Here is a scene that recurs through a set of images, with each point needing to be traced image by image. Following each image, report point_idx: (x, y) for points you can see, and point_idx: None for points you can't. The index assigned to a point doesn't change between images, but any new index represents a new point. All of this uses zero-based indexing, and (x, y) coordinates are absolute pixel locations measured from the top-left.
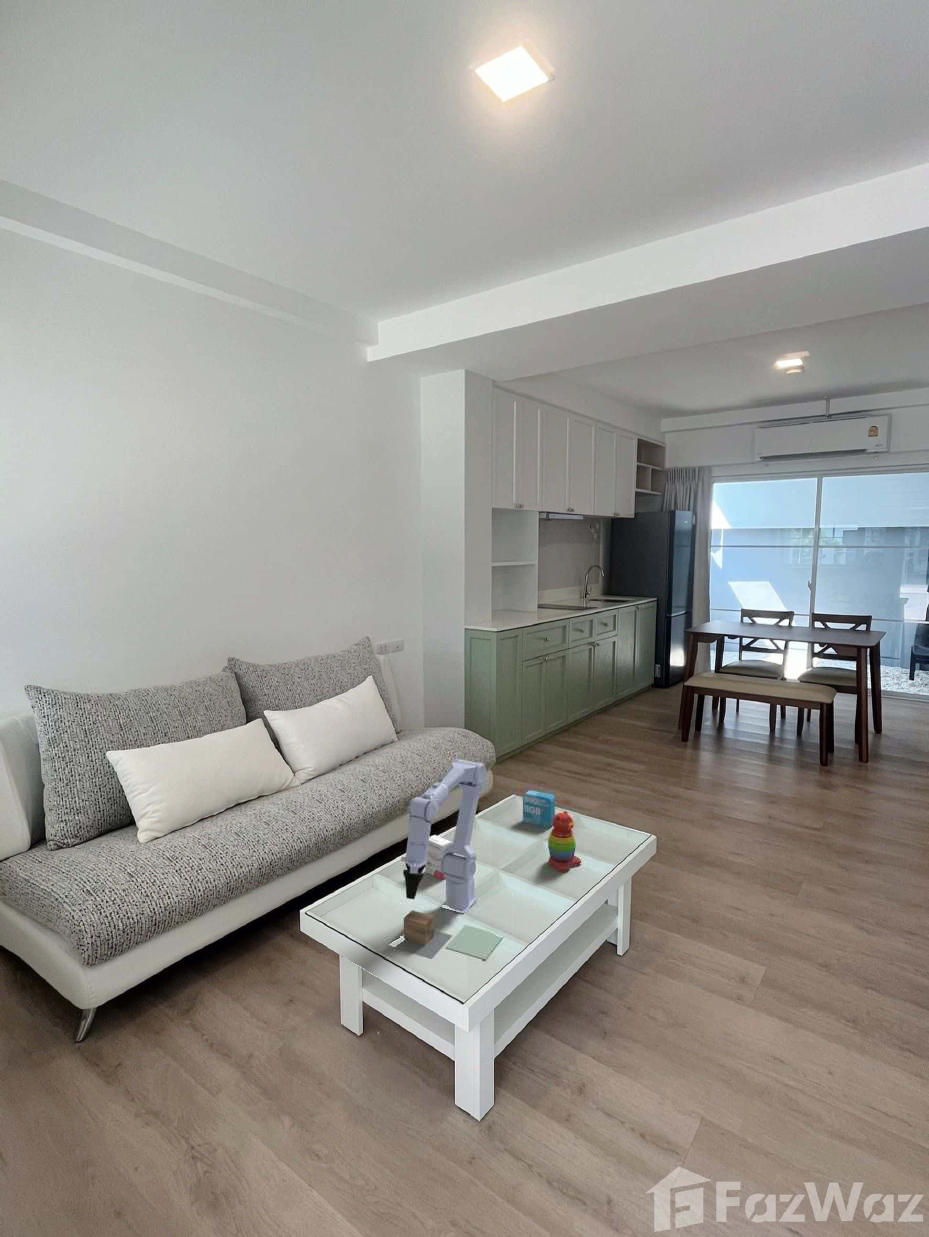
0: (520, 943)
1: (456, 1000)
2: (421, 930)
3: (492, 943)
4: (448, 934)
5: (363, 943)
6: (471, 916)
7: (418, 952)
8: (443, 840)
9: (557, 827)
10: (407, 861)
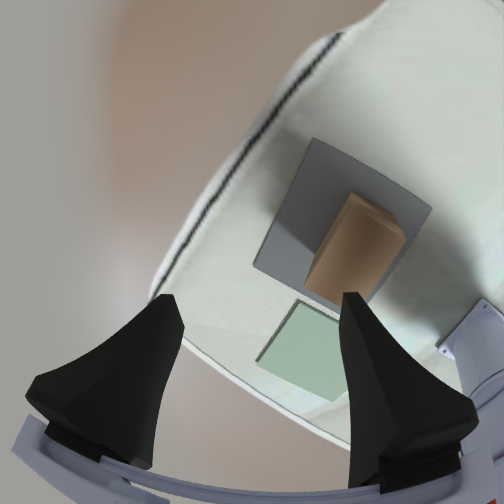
0: (308, 412)
1: (150, 297)
2: (315, 260)
3: (308, 384)
4: None
5: (323, 65)
6: (424, 361)
7: (280, 234)
8: None
9: (493, 501)
10: (69, 495)
